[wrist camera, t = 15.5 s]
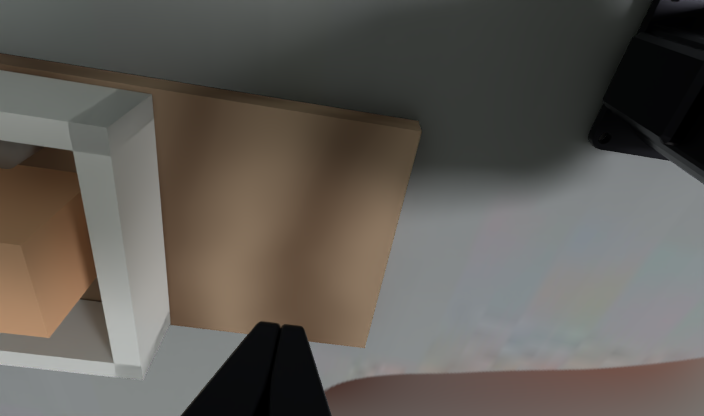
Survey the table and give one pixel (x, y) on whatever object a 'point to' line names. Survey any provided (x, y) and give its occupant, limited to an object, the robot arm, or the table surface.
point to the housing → (99, 223)
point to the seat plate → (260, 202)
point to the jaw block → (41, 249)
